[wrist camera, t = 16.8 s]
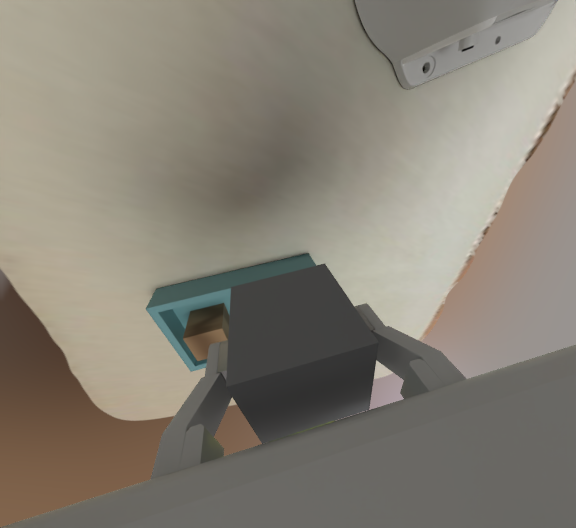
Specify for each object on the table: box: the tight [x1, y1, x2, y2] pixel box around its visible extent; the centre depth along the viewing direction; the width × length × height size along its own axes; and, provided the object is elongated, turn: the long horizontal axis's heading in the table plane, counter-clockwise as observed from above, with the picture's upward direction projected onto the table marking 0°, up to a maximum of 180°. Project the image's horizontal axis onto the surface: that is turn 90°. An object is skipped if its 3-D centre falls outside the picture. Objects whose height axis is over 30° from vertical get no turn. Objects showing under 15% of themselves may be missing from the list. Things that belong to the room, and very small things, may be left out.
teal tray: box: [146, 253, 316, 371], centre depth 32 cm, size 22×14×4 cm, turn 99°
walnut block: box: [183, 303, 229, 361], centre depth 30 cm, size 5×5×5 cm
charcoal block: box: [226, 264, 379, 444], centre depth 10 cm, size 5×5×5 cm
